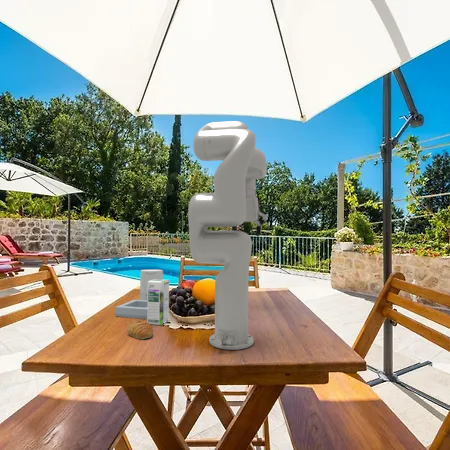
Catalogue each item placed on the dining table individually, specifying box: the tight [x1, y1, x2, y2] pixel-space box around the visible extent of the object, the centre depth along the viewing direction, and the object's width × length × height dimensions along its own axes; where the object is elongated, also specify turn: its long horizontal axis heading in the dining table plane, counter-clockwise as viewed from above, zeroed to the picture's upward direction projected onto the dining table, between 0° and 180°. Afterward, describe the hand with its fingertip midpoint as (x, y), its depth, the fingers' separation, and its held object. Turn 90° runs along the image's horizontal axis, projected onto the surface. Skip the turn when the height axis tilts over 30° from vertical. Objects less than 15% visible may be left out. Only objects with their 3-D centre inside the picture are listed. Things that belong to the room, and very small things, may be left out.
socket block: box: [114, 299, 148, 320], centre depth 121 cm, size 13×13×4 cm
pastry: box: [127, 319, 154, 340], centre depth 96 cm, size 9×7×4 cm
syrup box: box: [146, 279, 170, 326], centre depth 110 cm, size 6×6×14 cm
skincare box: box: [139, 269, 164, 301], centre depth 136 cm, size 8×6×15 cm
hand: (246, 235), depth 131 cm, fingers open, 9 cm apart
